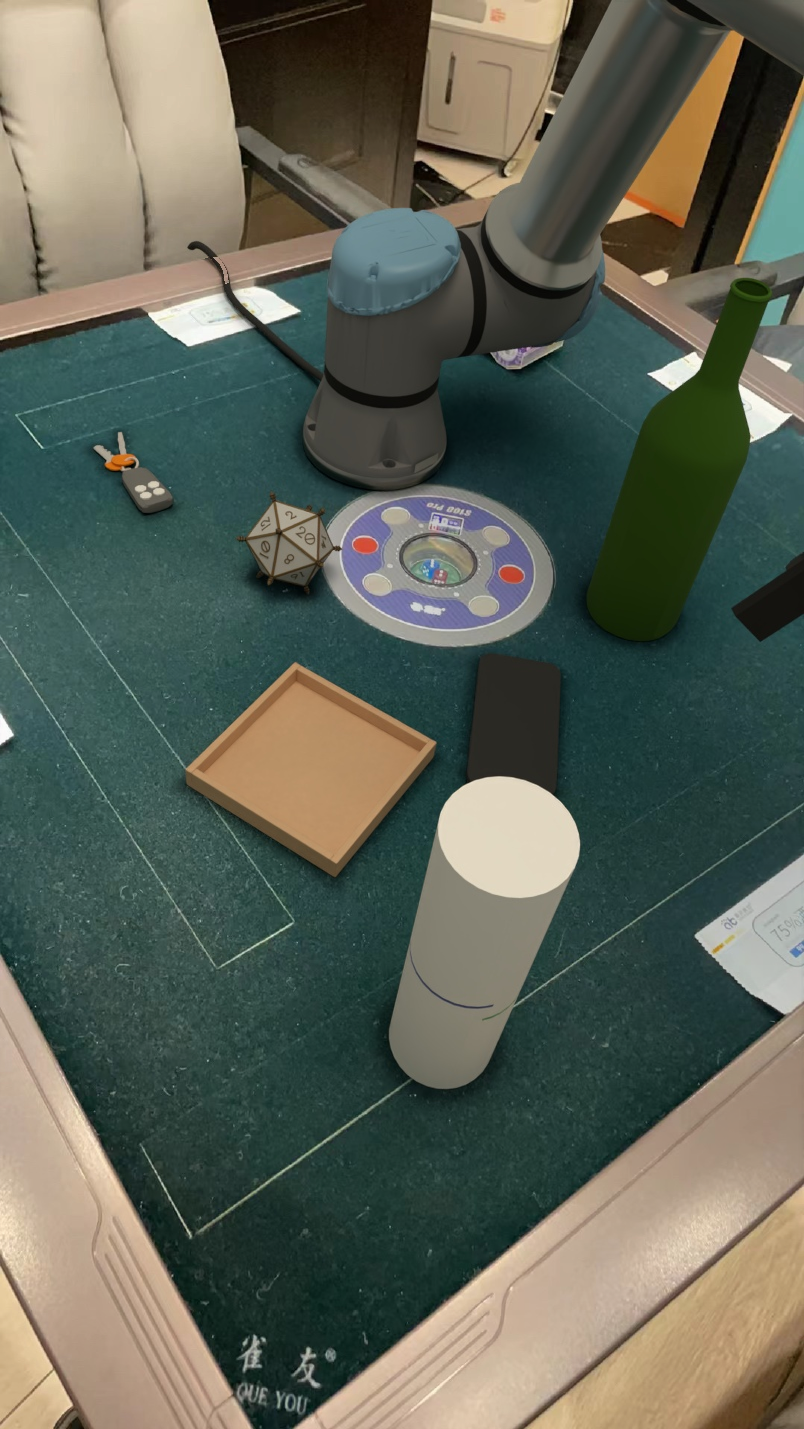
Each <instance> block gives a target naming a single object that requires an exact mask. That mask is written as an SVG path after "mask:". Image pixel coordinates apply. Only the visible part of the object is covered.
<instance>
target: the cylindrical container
mask: <svg viewBox="0 0 804 1429" xmlns="http://www.w3.org/2000/svg"><path fill="white" fill-rule="evenodd" d="M580 850H581V840H580V834H579V830H578V827H577V824H576V821H575V820H574V818H573V816H572V814H571V813H570V811H569V810H568V809H567V807H565V804H563V803H562V801H560V800H559V799H558V798H557V797H556V796H555V795H554V796H553V795H552V794H551V793H550V792H548V791H546V790H545V789H543V788H541V787H540V786H538V785H535V784H533V783H530V782H528V781H525V780H521V779H517V778H512V777H500V776H498V777H487V778H483V779H479V780H475V781H472V782H470V783H468V782H467V783H466V784H463V785H462V786H461V787H460V788H458V789H457V790H455V792H453V793H452V794H451V795H450V796H449V798H448V799H447V800H446V801H445V803H444V805H443V807H442V809H441V811H440V814H439V818H438V821H437V827H436V830H435V834H434V838H433V843H432V847H431V851H430V855H429V860H428V863H427V867H426V872H425V876H424V881H423V884H422V889H421V892H420V898H419V902H418V905H417V910H416V914H415V919H414V923H413V927H412V930H411V931H412V932H411V935H410V940H409V944H408V948H407V951H406V956H405V960H404V964H403V967H402V968H403V969H402V974H401V977H400V981H399V986H398V990H397V994H396V998H395V1002H394V1007H393V1011H392V1014H391V1020H390V1024H389V1027H388V1042H389V1047H390V1050H391V1052H392V1055H393V1058H394V1060H395V1061H396V1063H397V1065H398V1066H399V1068H400V1069H401V1070H402V1071H403V1072H404V1073H405V1074H406V1075H407V1076H409V1078H411V1079H412V1080H414V1081H415V1082H417V1083H419V1084H420V1085H423V1086H425V1087H429V1088H433V1089H437V1090H451V1089H457V1088H460V1087H463V1086H466V1085H467V1084H468V1085H469V1083H471V1082H473V1081H475V1080H476V1079H477V1078H478V1077H479V1076H480V1075H481V1074H482V1073H483V1072H484V1071H485V1069H486V1067H487V1066H488V1064H489V1063H490V1060H491V1059H492V1056H493V1054H494V1052H495V1049H496V1046H497V1044H498V1042H499V1040H500V1038H501V1036H502V1034H503V1031H504V1029H505V1026H506V1024H507V1022H508V1021H509V1020H508V1019H509V1018H510V1015H511V1013H512V1011H513V1008H514V1007H515V1005H516V1001H517V999H518V997H519V995H520V992H521V990H522V989H523V987H524V983H525V982H526V979H527V977H528V975H529V972H530V970H531V968H532V966H533V963H534V961H535V959H536V956H537V954H538V952H539V949H540V947H541V946H542V945H541V944H542V942H543V940H544V939H545V936H546V934H547V932H548V930H549V927H550V925H551V923H552V920H553V918H554V916H555V914H556V911H557V909H558V907H559V904H560V902H561V900H562V898H563V895H564V893H565V891H566V889H567V886H568V884H569V882H570V880H571V878H572V875H573V873H574V871H575V868H576V865H577V863H578V860H579V857H580Z"/></svg>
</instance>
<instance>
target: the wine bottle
mask: <svg viewBox="0 0 804 1429" xmlns="http://www.w3.org/2000/svg"><path fill="white" fill-rule="evenodd" d="M772 296H773V290H772V289H771V288H770V286H769V285H768V284H766V282H763V281H762V280H759V279H756V278H753V277H739V278H735V279H734V280H732V282H731V283H730V285H729V290H728V293H727V295H726V298H725V301H724V304H723V306H722V309H721V312H720V314H719V317H718V319H717V322H716V325H715V328H714V331H713V332H712V335H711V338H710V340H709V344H708V345H707V348H706V351H705V354H704V356H703V359H702V361H701V365H700V367H699V369H698V370H697V372H695V373H694V374H693V375H692V376H691V377H689V379H687V380H686V381H684V382H683V383H681V384H680V385H679V386H677V387H676V388H674V389H673V390H672V391H671V392H669V393H668V394H667V395H665V396H664V397H662V399H660V400H659V401H658V402H656V403H655V404H654V405H653V406H652V407H651V409H650V410H649V412H648V414H647V415H646V417H645V418H644V420H643V422H642V424H641V427H640V429H639V433H638V435H637V439H636V441H635V445H634V448H633V451H632V454H631V457H630V460H629V463H628V465H627V470H626V472H625V476H624V478H623V482H622V484H621V487H620V491H619V493H618V497H617V499H616V503H615V506H614V509H613V512H612V515H611V518H610V521H609V524H608V528H607V530H606V534H605V536H604V540H603V542H602V546H601V549H600V552H599V555H598V557H597V561H596V564H595V567H594V570H593V573H592V576H591V580H590V583H589V585H588V589H587V592H586V608H587V610H588V612H589V615H590V616H591V618H592V619H593V620H594V622H595V623H596V624H597V625H598V626H600V627H601V628H602V629H603V630H605V631H606V632H607V633H610V635H611V634H612V635H613V636H615V637H618V638H621V639H625V640H627V641H628V640H629V641H634V642H635V641H636V642H649V641H654V640H658V639H661V638H662V637H664V636H665V635H667V634H669V633H670V632H671V631H672V630H673V628H674V627H675V626H676V625H677V623H678V621H679V618H680V615H681V613H682V612H683V608H684V607H685V604H686V602H687V600H688V597H689V595H690V592H691V590H692V588H693V585H694V584H695V581H696V579H697V576H698V574H699V572H700V570H701V567H702V565H703V562H704V560H705V557H706V556H707V553H708V551H709V549H710V546H711V544H712V542H713V539H714V537H715V534H716V532H717V530H718V527H719V526H720V523H721V522H722V518H723V517H724V514H725V511H726V509H727V506H728V504H729V502H730V500H731V498H732V495H733V493H734V490H735V489H736V486H737V483H738V482H739V479H740V476H741V474H742V472H743V470H744V468H745V465H746V463H747V460H748V455H749V451H750V444H751V438H752V437H751V436H752V435H751V431H750V427H749V423H748V419H747V415H746V411H745V407H744V404H743V400H742V396H741V392H740V379H741V377H742V373H743V371H744V368H745V365H746V363H747V361H748V358H749V355H750V353H751V349H752V347H753V345H754V342H755V338H756V336H757V333H758V331H759V329H760V326H761V323H762V321H763V318H764V315H765V312H766V310H767V307H768V303H769V302H770V300H771V299H772Z"/></svg>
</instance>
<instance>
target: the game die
mask: <svg viewBox="0 0 804 1429" xmlns="http://www.w3.org/2000/svg"><path fill="white" fill-rule="evenodd" d="M268 497H269V498H270V500H271V503H270V504H269V506H268V507H267V508H266V509H265V511H264V512H263V513H262V515H261V516H260V517H259V519H258V520H257V522H256V523H255V524H254V526H253V527H252V528H251V530H250V531H249V532H248V534H247V535H246V536H245V537H244V536H243V535H239V536H237V537H235V540H237V541H238V543H244V542H245V543H246V545H247V547H248V550H249V551H250V553H251V555H252V557H253V559H254V560H255V563H256V564H257V566H258V568H259V570H258V572H256V578H257V579H258V578H262V576H264V575H265V576H267V577H268V578H267V580H266V583H267V586H269V585H273V583H274V581H275V580H276V581H280V582H284V583H287V584H292V585H297V586H300V587H303V591H304V593H305V594H306V595H308V596H309V595H310V591H311V589H310V587H309V586H308V585H309V584H310V582H312V581H311V580H312V579H313V578H314V576H315V575H316V574H317V573H318V571H319V570H320V569H321V568H324V567H325V562H326V561H327V559H328V558H329V557H330V555H331V554H332V553H333V551H335V552H340V551H343V547H341V546H340V545H337V544H336V545H335V546H334V545H333V544H334V543H333V542H332V540H331V537H330V535H329V532H328V530H327V528H326V526H325V523H324V521H323V519H322V516H324V515H325V514H326V508H325V507H324V508H320V509H319V510H318V512H315V511H312V509H313V506H312V504H309V505H306V507H305V508H303V507H299V506H296V505H292V504H290V503H286V502H283V501H280V500H277V496H276V493H274V492H273V491H269V496H268Z"/></svg>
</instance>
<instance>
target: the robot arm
mask: <svg viewBox="0 0 804 1429" xmlns="http://www.w3.org/2000/svg"><path fill="white" fill-rule="evenodd" d="M732 31H734V32H735V33H737V34H738V35H740V36H741V37H743V38H745V39H746V40H747V41H749V42H751V43H752V44H754V45H755V46H757V47H758V48H760V49H762V50H763V51H765V52H766V53H768V54H769V55H771V56H772V57H774V58H775V59H777V60H778V61H780V62H781V63H783V64H785V65H787V66H788V67H790V68H791V69H793V70H795V72H797V73H799V74H800V75H802V76H803V77H804V0H611V1H610V3H609V5H608V6H607V9H606V11H605V13H604V15H603V17H602V19H601V21H600V23H599V25H598V27H597V29H596V31H595V33H594V35H593V37H592V38H591V41H590V43H589V45H588V46H587V48H586V50H585V52H584V55H583V57H582V58H581V60H580V63H579V64H578V67H577V68H576V71H575V72H574V74H573V76H572V78H571V80H570V82H569V84H568V86H567V88H566V89H565V92H564V94H563V95H562V98H561V100H560V102H559V103H558V106H557V108H556V110H555V112H554V114H553V115H552V118H551V119H550V122H549V123H548V126H547V128H546V130H545V132H544V133H543V136H542V137H541V140H540V141H539V143H538V146H537V147H536V149H535V151H534V153H533V155H532V157H531V159H530V161H529V163H528V165H527V167H526V169H525V171H524V173H523V176H522V177H521V179H520V181H519V182H516V183H513V184H510V185H508V186H505V187H504V188H502V189H501V190H500V191H499V192H497V193H496V194H495V195H494V197H493V199H492V200H491V202H490V203H489V205H488V208H487V210H486V211H485V214H484V216H483V217H482V220H481V222H480V223H479V224H478V225H476V226H472V227H463V228H456V227H455V226H454V225H453V223H452V222H450V221H449V220H448V219H447V218H445V217H444V216H442V215H440V214H438V213H435V212H432V211H429V210H426V209H425V210H424V209H421V210H419V211H414V210H413V208H412V207H394V208H392V207H391V208H385V209H380V210H376V211H372V212H369V213H367V214H364V215H362V216H360V217H358V218H356V219H355V220H353V221H351V222H350V223H349V224H348V225H346V226H345V227H344V229H342V231H341V233H340V234H339V235H338V236H337V238H335V242H334V244H333V247H332V252H331V258H330V263H329V264H330V265H329V270H328V275H327V279H326V292H327V304H326V326H325V346H324V366H323V372H322V371H321V370H319V369H318V368H316V367H315V366H314V365H312V364H311V363H310V362H308V361H307V360H306V359H305V358H304V357H302V356H301V355H300V354H299V353H297V352H296V351H295V350H294V349H293V348H291V346H289V345H288V344H287V343H286V342H284V341H283V340H282V339H281V338H280V337H279V336H278V335H276V333H275V332H273V331H272V330H271V329H270V328H269V327H268V326H267V325H266V324H265V323H264V322H262V321H261V319H259V318H258V317H257V316H256V315H254V314H253V313H252V312H251V311H249V310H248V309H247V307H245V306H244V305H243V303H241V302H240V300H239V299H238V298H237V296H236V295H235V293H234V292H233V289H232V285H231V279H230V274H229V270H228V268H227V266H226V265H225V262H223V261H222V263H223V264H224V266H225V268H226V270H227V274H228V280H229V283H227V284H225V281H224V274H223V270H222V268H221V266H220V264H219V263H218V262H217V261H216V260H215V259H214V258H213V257H219V256H218V255H217V253H216V252H214V251H213V250H212V249H211V247H209V246H207V244H206V243H203V242H202V241H199V240H193V241H191V242H190V243H189V244H188V245H187V247H186V248H187V250H189V251H194V250H200V251H201V252H203V253H204V254H205V255H206V256H207V257H208V259H210V260H211V259H212V260H211V261H212V263H213V264H214V265H215V267H216V268H217V269H218V270H219V272H220V274H221V279H222V286H223V290H224V294H225V296H226V298H227V299H228V301H229V302H230V303H231V305H232V306H233V307H234V308H235V310H236V311H237V312H238V313H239V314H240V315H241V316H243V317H244V318H245V319H246V320H247V321H248V322H249V323H250V324H252V325H253V326H254V327H255V328H256V329H258V331H260V332H261V334H263V335H264V336H265V337H266V338H267V339H269V341H270V342H272V343H273V344H274V345H275V346H276V347H277V348H278V349H279V350H281V351H282V352H283V354H285V355H286V356H287V357H288V358H290V359H291V360H292V361H293V362H295V363H296V364H297V365H298V366H299V367H301V368H302V369H303V370H305V372H307V373H309V374H310V375H311V376H313V377H314V378H315V379H316V380H318V381H319V385H318V387H317V390H316V392H315V394H314V396H313V398H312V401H311V403H310V405H309V407H308V410H307V412H306V415H305V419H304V422H303V427H302V428H303V429H302V446H303V450H304V452H305V455H306V456H307V458H308V459H309V461H310V462H311V463H312V464H313V465H314V466H315V467H316V468H317V469H318V470H319V471H320V472H322V473H323V474H324V475H326V476H328V477H329V478H332V479H334V480H335V481H338V482H340V483H342V484H345V485H349V486H352V487H355V488H360V489H366V490H374V491H376V490H377V491H388V490H389V491H390V490H391V491H392V490H399V489H405V488H409V487H412V486H415V485H416V486H417V485H418V484H420V483H422V482H425V481H427V480H428V479H430V478H431V477H432V476H434V475H435V474H436V473H437V472H438V470H439V469H440V468H441V466H442V465H443V462H444V459H445V456H446V455H445V454H446V449H447V431H446V425H445V422H444V416H443V410H442V404H441V400H440V395H439V390H438V388H439V383H440V382H439V381H440V375H441V368H442V363H443V362H444V361H447V360H451V359H458V358H459V359H460V358H467V357H471V356H472V357H473V356H477V355H478V356H479V355H485V354H492V353H498V352H504V351H510V350H519V349H527V348H533V349H535V348H545V347H548V346H552V345H553V344H555V343H556V344H557V343H559V342H563V341H567V340H570V339H571V338H574V337H575V336H577V335H579V334H580V333H581V332H582V331H583V330H584V329H585V328H586V327H587V326H588V325H589V324H590V322H591V321H592V320H593V318H594V317H595V315H596V313H597V311H598V308H599V306H600V303H601V301H602V297H603V292H602V291H601V288H600V287H601V285H602V284H604V283H605V282H606V261H605V255H604V249H603V242H602V236H601V233H602V232H603V231H604V229H605V227H606V226H607V225H608V224H609V221H610V220H611V218H612V217H613V215H614V213H615V212H616V210H617V209H618V207H619V206H620V204H621V202H622V201H623V200H624V198H625V196H626V195H627V193H628V191H629V190H630V188H631V187H632V185H633V184H634V182H635V180H637V178H638V176H639V174H640V173H641V171H642V170H643V168H644V167H645V165H646V164H647V162H648V161H649V159H650V158H651V156H652V154H653V153H654V151H655V150H656V148H657V146H658V145H659V143H660V142H661V140H662V139H663V137H664V136H665V134H666V132H667V131H668V129H669V128H670V126H671V125H672V124H673V122H674V120H675V118H676V117H677V115H679V112H680V111H681V109H682V108H683V106H684V105H685V103H686V102H687V100H688V98H689V97H690V95H691V94H692V93H693V91H694V89H695V87H696V86H697V84H698V83H699V81H700V80H701V79H702V76H703V75H704V74H705V72H706V70H707V69H708V67H709V65H710V64H711V63H712V61H713V59H714V58H715V56H716V54H717V53H718V52H719V50H720V49H721V47H722V45H723V44H724V42H725V41H726V39H727V37H728V36H729V35H730V33H731V32H732ZM219 259H220V260H221V258H220V257H219ZM784 569H785V571H783V572H782V573H781V574H780V575H777V576H776V577H775V578H773V579H772V580H770V581H769V582H767V583H766V584H764V585H762V586H761V587H760V588H758V589H757V590H755V591H754V592H753V593H751V594H750V595H748V596H746V597H745V598H743V599H742V600H740V601H739V602H738V603H736V604H734V605H733V606H732V607H731V608H730V610H731V611H732V613H733V615H734V617H735V618H736V619H737V621H739V623H741V624H742V625H743V626H744V627H745V628H746V629H747V631H749V633H751V634H752V635H753V637H754V638H755V639H756V640H757V641H758V642H759V643H762V642H763V641H764V640H766V639H768V638H769V637H771V636H773V635H774V634H775V633H778V631H780V630H782V629H783V628H785V627H786V626H788V625H789V624H791V623H792V622H794V621H796V620H797V619H799V618H800V617H802V616H803V615H804V551H802V552H801V553H800V554H798V555H796V556H795V557H794V558H792V559H791V560H790V561H788V563H787V564H786V566H785V567H784Z"/></svg>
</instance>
